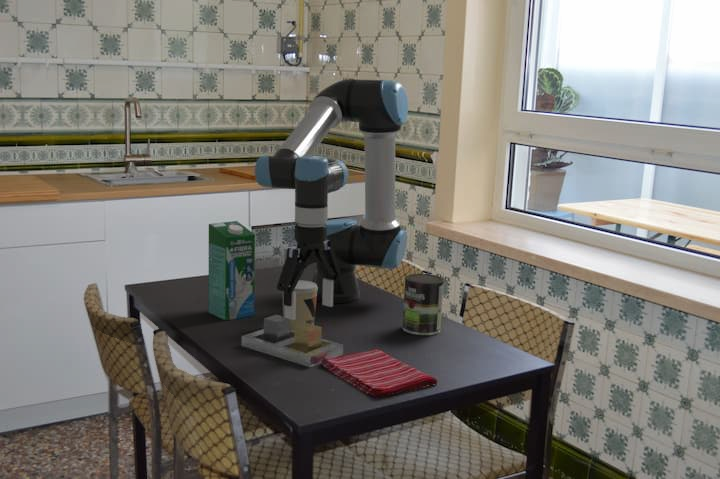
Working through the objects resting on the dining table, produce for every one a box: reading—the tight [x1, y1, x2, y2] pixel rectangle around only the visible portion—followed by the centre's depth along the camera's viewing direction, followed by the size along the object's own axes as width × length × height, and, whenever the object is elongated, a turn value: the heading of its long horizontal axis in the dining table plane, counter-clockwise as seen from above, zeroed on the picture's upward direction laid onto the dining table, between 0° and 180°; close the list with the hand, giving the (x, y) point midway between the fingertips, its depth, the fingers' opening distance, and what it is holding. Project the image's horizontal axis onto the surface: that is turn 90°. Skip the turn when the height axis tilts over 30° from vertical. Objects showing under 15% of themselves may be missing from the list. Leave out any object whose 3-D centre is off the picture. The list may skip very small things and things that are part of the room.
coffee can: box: [401, 273, 445, 336], centre depth 222 cm, size 10×10×14 cm
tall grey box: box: [263, 314, 290, 343], centre depth 205 cm, size 4×4×7 cm
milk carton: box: [208, 220, 256, 321], centre depth 228 cm, size 9×9×25 cm
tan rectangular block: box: [294, 323, 323, 353], centre depth 199 cm, size 4×4×7 cm
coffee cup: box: [281, 279, 318, 331], centre depth 219 cm, size 9×9×12 cm
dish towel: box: [319, 349, 438, 398], centre depth 189 cm, size 17×24×3 cm
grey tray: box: [241, 328, 344, 368], centre depth 203 cm, size 12×22×2 cm, turn 53°
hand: (309, 312), depth 198 cm, fingers open, 13 cm apart
